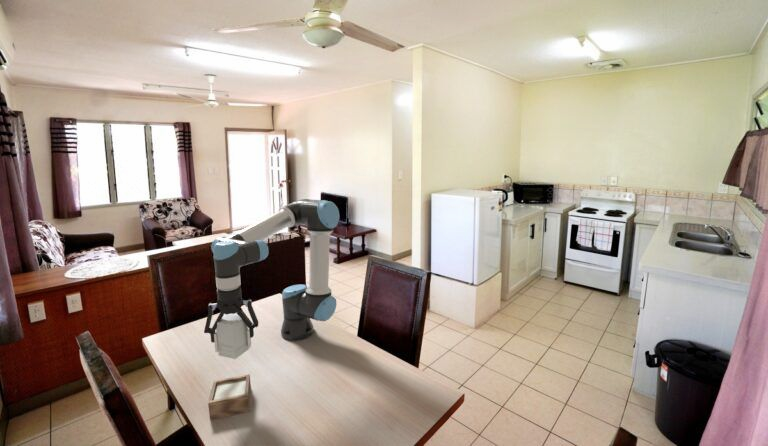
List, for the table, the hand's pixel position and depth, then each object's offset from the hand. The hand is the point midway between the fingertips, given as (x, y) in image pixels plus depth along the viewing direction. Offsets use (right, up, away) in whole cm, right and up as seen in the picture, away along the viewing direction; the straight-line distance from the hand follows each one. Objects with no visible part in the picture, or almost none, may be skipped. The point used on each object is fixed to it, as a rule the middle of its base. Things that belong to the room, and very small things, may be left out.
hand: (233, 347), depth 125 cm
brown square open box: (0, -19, 0) cm, 19 cm away
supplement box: (0, -2, 0) cm, 2 cm away
